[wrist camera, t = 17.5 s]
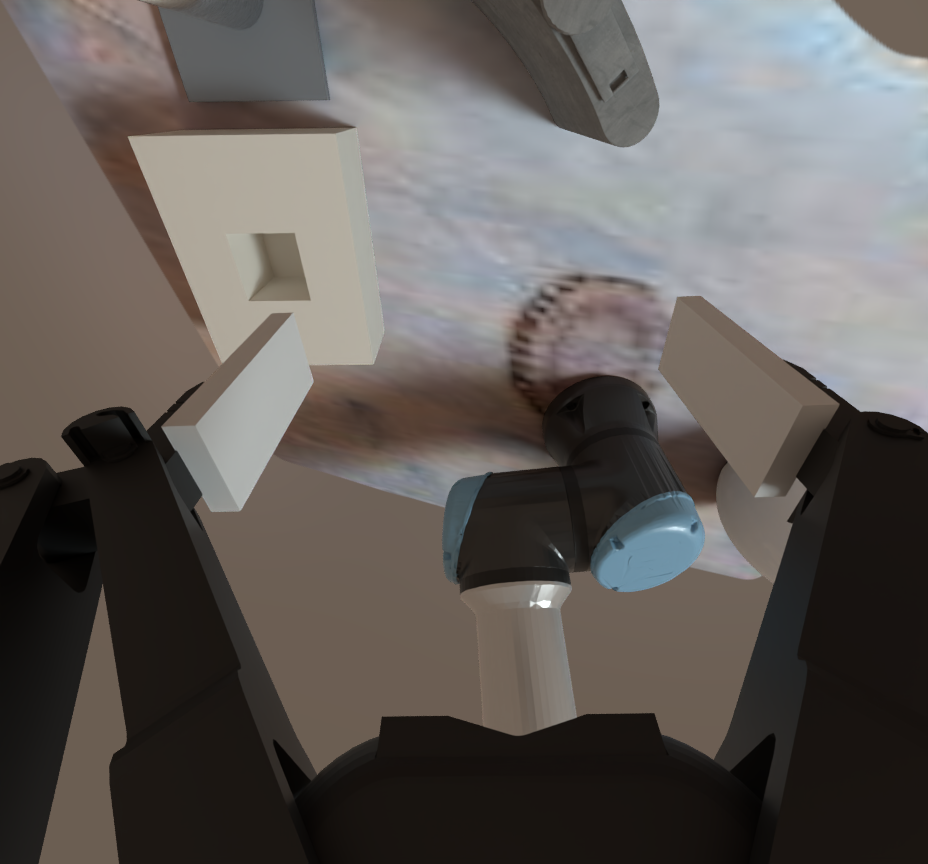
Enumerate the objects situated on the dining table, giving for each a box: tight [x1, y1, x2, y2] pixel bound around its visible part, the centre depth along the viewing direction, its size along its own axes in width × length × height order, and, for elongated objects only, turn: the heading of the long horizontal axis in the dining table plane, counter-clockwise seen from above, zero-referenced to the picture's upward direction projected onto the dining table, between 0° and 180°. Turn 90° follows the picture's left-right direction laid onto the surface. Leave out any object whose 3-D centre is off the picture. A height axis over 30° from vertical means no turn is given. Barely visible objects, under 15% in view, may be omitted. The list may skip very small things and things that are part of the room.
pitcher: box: [716, 462, 807, 584], centre depth 55 cm, size 24×17×28 cm
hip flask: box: [471, 0, 659, 147], centre depth 27 cm, size 16×4×20 cm, turn 46°
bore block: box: [128, 128, 385, 365], centre depth 42 cm, size 20×16×8 cm
